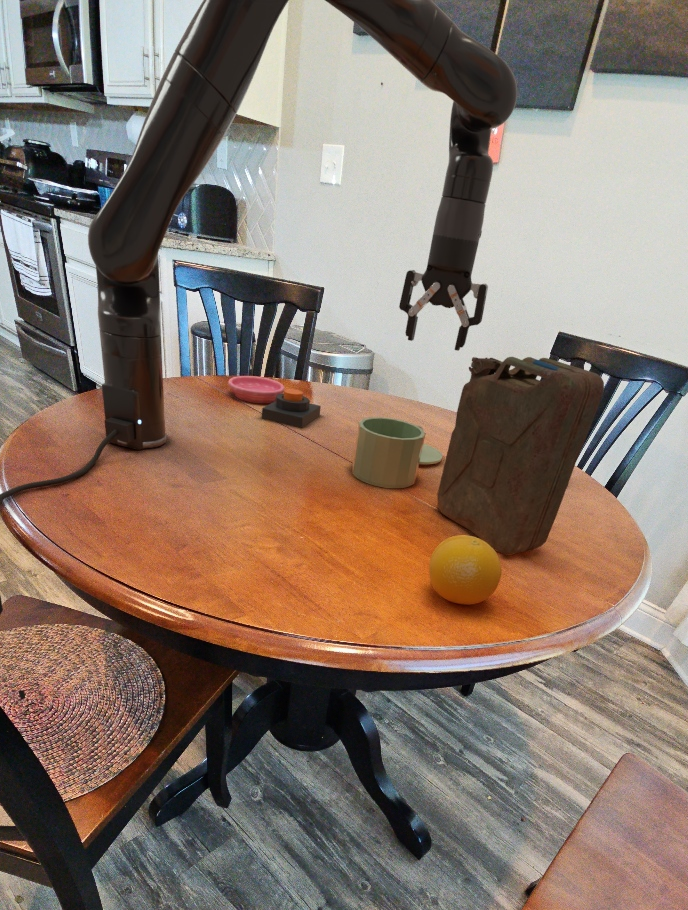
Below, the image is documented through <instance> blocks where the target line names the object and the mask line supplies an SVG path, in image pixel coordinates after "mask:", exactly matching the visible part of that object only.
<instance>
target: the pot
mask: <svg viewBox="0 0 688 910" xmlns="http://www.w3.org/2000/svg"><path fill="white" fill-rule="evenodd" d="M418 426H419V425H416V424H414V423H412V422H408V421H405V420H402V419H397V418H392V417H384V416H371V417H365V418H362V419H361V420H360V421H358V425H357V431H356V439H355V444H354V451H353V460H352V465H351V468H352V469H351V472H352V475H353V476H354V477H355V478H356V479H358V480H359V481H361V482H362V483H366V484H368V485H371V486H374V487H379V488H386V489H405V488H409V487H410V486H412V485H414V484H415V483H416V479H417V475H418V470H419V466H420V464H419V462H420V457H421V453H422V448H423V444H425V438H426V432H425V430H424V428H423V429H421V428H420V427H421V426H420V427H418Z"/></svg>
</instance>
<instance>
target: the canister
mask: <svg viewBox="0 0 688 910" xmlns="http://www.w3.org/2000/svg"><path fill="white" fill-rule="evenodd" d="M511 367H513V368H511ZM468 370H469V372H470V379H469V381H467V382H466V383H465V384H464V385H463V387H462V389H461V394H460V398H459V402H458V406H457V410H456V417H455V425H454V428H453V430H452V432H451V435H450V439H449V444H448V448H447V451H446V456H445V461H444V464H443V469H442V473H441V474H442V475H441V477H440V482H439V485H438V490H437V496H436V497H437V507H438V509H439V511H440V513H441V514H442V515H443V516H445V517H447V518H449V519H450V520H452V521H453V522H455V523H456V524H458V525H460V526H461V527H462V528H463V527H464V528H465V529H467V530H469V531H470V532H471V533H473V534H474V535H475V536H477V538H479V539H481V540H483V541H484V542H486V543H487V544H488V545H490V546H491V547H492V548H493V549H494V551H495V552H498V553H500V554H503V555H506V556H507V555H508V556H511V555H515V554H520V553H521V554H522V553H526V552H531V551H534V550H536V549H538V548H541V547H542V546H543V545H544V544H545V543H547V540H548V538H549V535H550V533H551V531H552V528H553V525H554V522H555V520H556V518H557V516H558V514H559V510H560V507H561V504H562V502H563V499H564V496H565V494H566V491H567V488H568V486H569V483H570V481H571V478H572V475H573V472H574V469H575V466H576V463H577V461H578V459H579V456H580V453H581V451H582V449H583V448H584V444H585V442H586V439H587V436H588V434H589V431H590V429H591V427H592V423H593V421H594V419H595V416H596V413H597V411H598V408H599V406H600V403H601V400H602V398H603V395H604V390H605V382H604V380H603V377H601V376H600V375H599V374H598V373H596V372H593V371H590V370H587V369H585V368H581V367H577V366H573V365H570V364H567V363H565V362H560V361H557V360H554V359H551V358H548V357H541V358H539V359H537V358H534V357H531V356H527V357H524V358H522V359H521V358H518V357H515V356H508V357H505V359H504V360H503V361H501V360H499V359H497V358H493V357H489V358H488V357H483V358H481V357H477V356H473V357H471V363H470V366H469V367H468ZM538 377H539V378H542V380H540V379H537V378H538Z"/></svg>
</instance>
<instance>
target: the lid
mask: <svg viewBox="0 0 688 910" xmlns="http://www.w3.org/2000/svg"><path fill="white" fill-rule="evenodd" d="M417 426H418V427H420V428H421V429H423V430H424V428H423V427H422V426H421V425H417ZM443 457H444V455H443V453H442V452H441V451H440V450H439V449H437V448H436V447H434V446H431V445H429V444H426V443H423V448H422V453H421V457H420V462H419V465H435V464H439V463H440V462H441V461H442V460H443Z"/></svg>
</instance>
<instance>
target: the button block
mask: <svg viewBox="0 0 688 910" xmlns="http://www.w3.org/2000/svg"><path fill="white" fill-rule="evenodd" d="M283 397H284V392H283V394H278V395H276V401H275V402H272V403H268V404H267V405H265V406H263V407H262V408H261V420H266V421H270V422H273V423H278V424H282V425H287V426H289V427H294V428H299V429H303V428H305V427H306V426H307V425H309V424H310V423H312V422H313V421H315V420H316V419H318V418H319V417H320V416H321V407H322V406H321V405H319V404H314V403H311V400H310V399H309V397H306V396H304V395H303V399H302V401H298V402H297V401H289V400H286V399H283Z"/></svg>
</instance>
